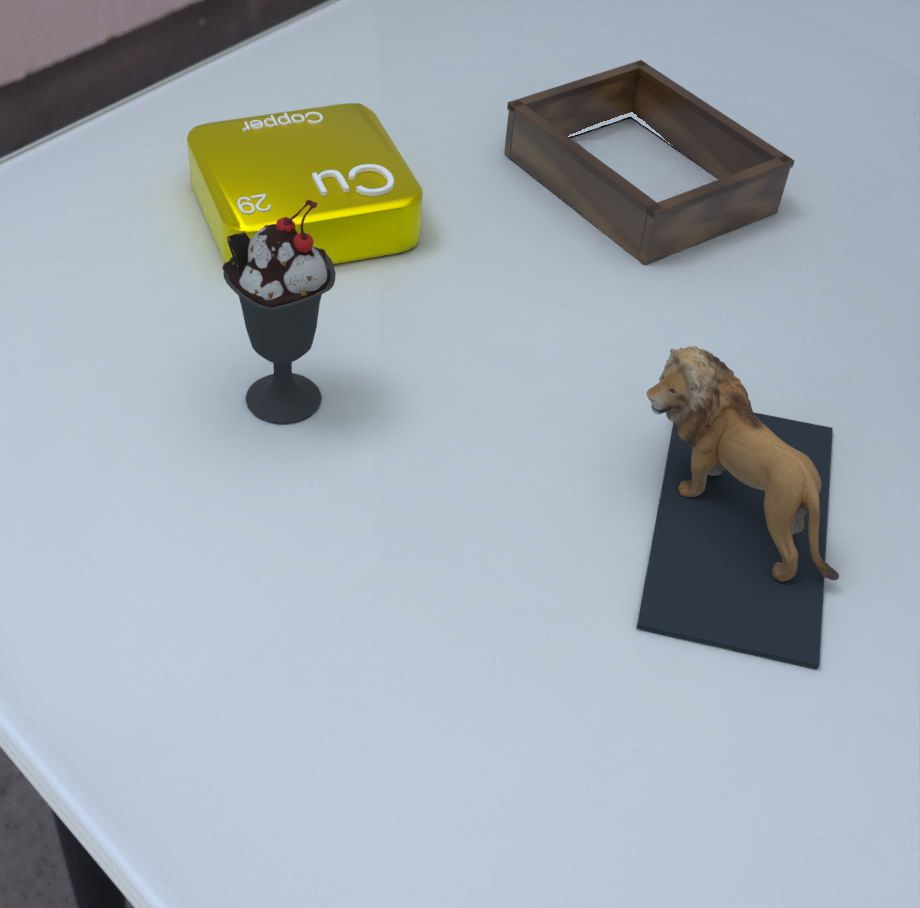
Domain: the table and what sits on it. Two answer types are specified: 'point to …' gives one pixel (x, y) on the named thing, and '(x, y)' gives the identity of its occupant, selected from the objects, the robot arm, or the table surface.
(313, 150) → the element tile
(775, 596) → the mat
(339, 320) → the table surface
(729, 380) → the lion figurine
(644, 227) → the wooden box
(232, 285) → the sundae
